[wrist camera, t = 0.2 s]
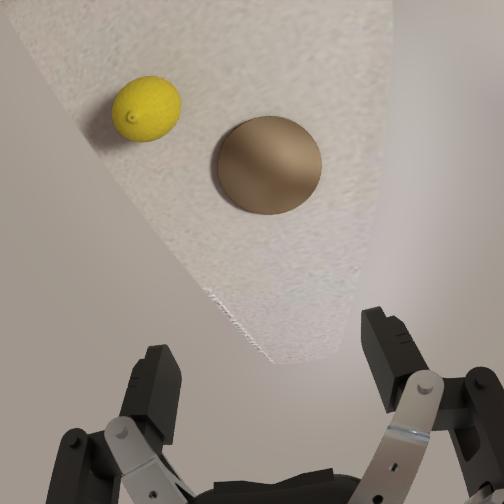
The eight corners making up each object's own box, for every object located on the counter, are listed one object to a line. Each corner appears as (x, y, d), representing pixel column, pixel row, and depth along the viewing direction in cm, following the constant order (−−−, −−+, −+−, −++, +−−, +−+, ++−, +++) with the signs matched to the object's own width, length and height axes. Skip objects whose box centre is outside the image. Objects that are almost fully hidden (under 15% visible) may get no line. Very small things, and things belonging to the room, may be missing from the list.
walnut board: (237, 101, 27) (237, 102, 26) (335, 138, 29) (337, 140, 28) (205, 195, 32) (205, 198, 31) (296, 222, 34) (297, 226, 33)
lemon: (144, 138, 28) (115, 165, 22) (123, 88, 25) (86, 100, 19) (196, 117, 28) (181, 137, 21) (176, 64, 25) (153, 66, 18)
